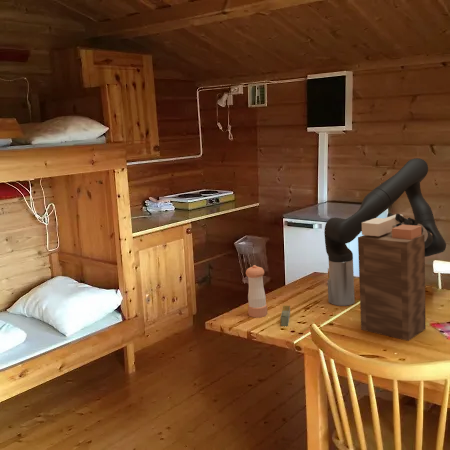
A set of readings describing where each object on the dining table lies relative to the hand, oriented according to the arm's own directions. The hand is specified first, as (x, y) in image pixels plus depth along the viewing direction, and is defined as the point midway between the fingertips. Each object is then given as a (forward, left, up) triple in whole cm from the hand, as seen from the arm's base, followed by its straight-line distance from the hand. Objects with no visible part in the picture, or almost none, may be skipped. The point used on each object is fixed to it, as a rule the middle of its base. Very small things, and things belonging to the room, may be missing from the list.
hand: (392, 216), depth 186 cm
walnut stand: (+3, -11, -37) cm, 38 cm away
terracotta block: (+8, -10, -5) cm, 13 cm away
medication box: (-34, -17, -37) cm, 53 cm away
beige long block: (-1, -5, -4) cm, 6 cm away
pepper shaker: (-47, -16, -37) cm, 62 cm away
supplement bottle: (-35, +28, -37) cm, 58 cm away
